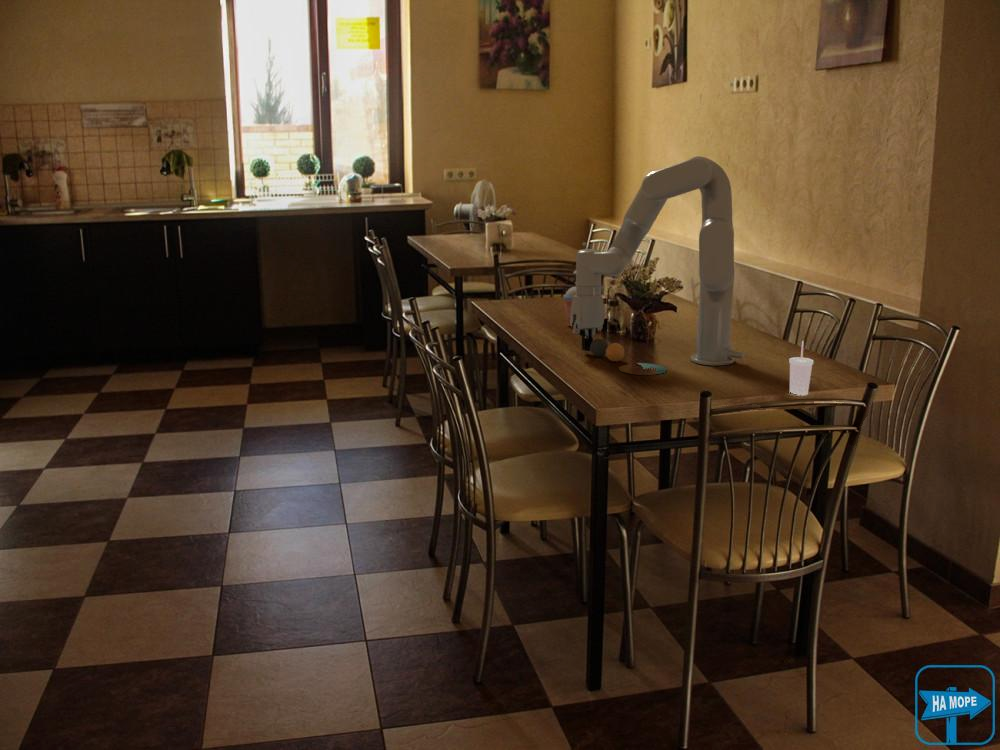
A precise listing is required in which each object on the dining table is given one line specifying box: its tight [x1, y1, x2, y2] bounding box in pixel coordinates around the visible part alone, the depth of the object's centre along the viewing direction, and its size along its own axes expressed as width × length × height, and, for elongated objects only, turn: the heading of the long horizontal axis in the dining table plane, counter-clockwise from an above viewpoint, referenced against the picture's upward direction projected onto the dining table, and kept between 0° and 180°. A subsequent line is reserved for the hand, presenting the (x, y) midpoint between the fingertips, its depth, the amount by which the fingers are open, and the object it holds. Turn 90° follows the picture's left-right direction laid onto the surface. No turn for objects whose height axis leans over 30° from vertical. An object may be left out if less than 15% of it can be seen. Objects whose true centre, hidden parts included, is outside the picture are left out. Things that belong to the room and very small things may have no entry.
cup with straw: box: [563, 286, 576, 327], centre depth 336 cm, size 9×9×18 cm
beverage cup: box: [788, 340, 814, 397], centre depth 254 cm, size 6×6×14 cm
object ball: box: [605, 342, 625, 362], centre depth 288 cm, size 6×6×6 cm
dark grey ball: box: [589, 338, 609, 358], centre depth 294 cm, size 6×6×6 cm
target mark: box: [636, 362, 668, 375], centre depth 279 cm, size 14×14×1 cm
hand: (587, 350), depth 298 cm, fingers closed
